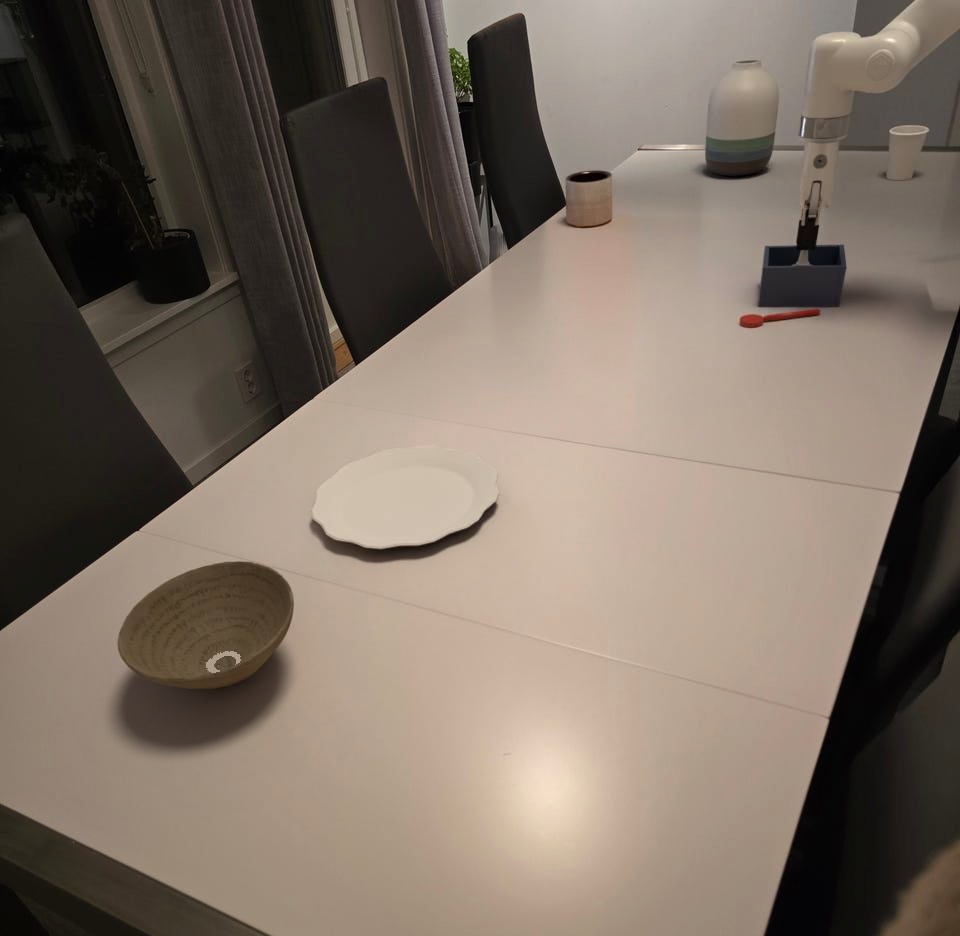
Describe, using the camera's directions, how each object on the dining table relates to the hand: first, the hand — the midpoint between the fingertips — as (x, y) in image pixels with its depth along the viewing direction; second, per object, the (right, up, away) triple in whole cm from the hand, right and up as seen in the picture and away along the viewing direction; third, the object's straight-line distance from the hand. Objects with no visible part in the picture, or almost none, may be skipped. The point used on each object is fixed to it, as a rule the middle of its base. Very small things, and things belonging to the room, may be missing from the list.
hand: (805, 246), depth 147 cm
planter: (-31, +30, +52) cm, 68 cm away
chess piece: (0, -3, +3) cm, 5 cm away
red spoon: (-6, -14, -2) cm, 15 cm away
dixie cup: (+43, +41, +53) cm, 80 cm away
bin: (+1, -6, +6) cm, 8 cm away
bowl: (-85, -73, -56) cm, 125 cm away
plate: (-67, -51, -34) cm, 91 cm away
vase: (+10, +53, +71) cm, 89 cm away
